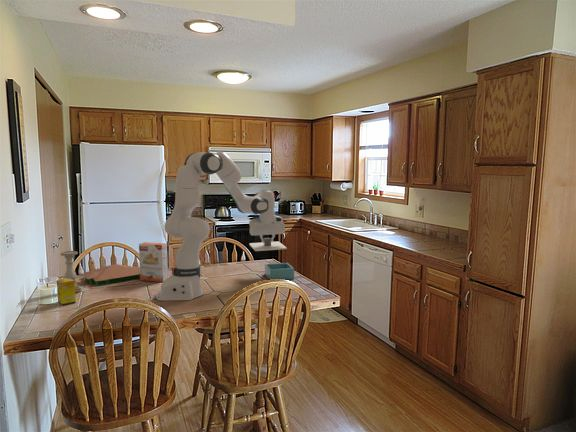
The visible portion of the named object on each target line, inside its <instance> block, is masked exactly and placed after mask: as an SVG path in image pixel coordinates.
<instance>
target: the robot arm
mask: <svg viewBox="0 0 576 432" xmlns="http://www.w3.org/2000/svg"><path fill="white" fill-rule="evenodd" d="M214 174H216V175H217V177H218V178H219V179H220V180H221V182H222V183H223V185H224V188H225V189H226V190H227V192H228V193H229V195H230V196H231V197H232V199H233V201H234V203H235V206H236V210H238V212H239V213H240V214H241V213H242V214H250V215H259V218H252V219H250V220H249V223H248V225H249V234H250V236H259V238H260V240H261V242H262V243H264V242H265V239H264V237H263V236H269V235H271V238H270V239H271V242H274V238H275V237H276V235H283V234H285V232H286V228H285V222H283V221H284V218H283V217H282V216H280V215H276V211H275V207H276V205H275V202H276V201H275V200H276V199H275V194H274V192H273V191H272V190H267V189H261V190H260V192H258V193H256V194H255V195H254V196H249V195H246V194H245V193H244V192H243V191H242V189H241V188H240V186H238V184H239V182H240V181H241V179H242V172H241V170H240V168H239V167H238V165H237V164H236V163H235V162H234V161H233V159H232V158H231V157H230V156H229V155H228V154H227V153H226V152H224V151H217V152H211V151H208V152H206V151H205V152H204V151H200V152H193V153H190V154H188V156H186V157H185V161H184V163H183V165H181V166H179V168H178V169H177V172H176V178H175V200H174V207H173V210H172V212H171V215H170V216H169V217H168V218H167V219H166V220H165V222H164V231H165V232H166V234H167V235H169V236H171V237H173V238H176V239H182V244H181V246H180V247H179V248H178V249H177V250H176V252H175V263H176V264H175V266H174V265H173V266H171V268H170V270H171V273H172V274H171V275H170V276H168V279H166V280H165V281H164V282H161V283H162V284H161V286H160V290H159V291H158V292H156V294H155V298H156V300H158V301H163V302H164V301H167V302H168V301H191V300H193V299H195V298H199V297H201V296H202V295H203V294H204V291H203V289H202V284H201V275H202V274H201V265H200V250H201V246H202V244H203V242H204V240H206V239H207V237H209V235H210V232H211V231H210V230H211V227H210V224H209V222H208V221H207V220H205V219H202V218H200V217H193V216H192V213H193V211H194V210H195V209H196V208H197V207H198V206H199V203H200V202H199V200H200V178H201V176H207V175H214Z"/></svg>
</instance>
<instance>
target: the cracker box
mask: <svg viewBox="0 0 576 432" xmlns="http://www.w3.org/2000/svg"><path fill="white" fill-rule="evenodd" d="M138 255H139V267H140V274H139V276H140V279H139V281H144V282H145V281H146V282H147V281H148V282H157V283H158V282H159V283H163V282H164V281H165V280H166V279H168V278H169V276H168V275H169V274H168V272H169V271H168V246H167V243H165V242H164V243H163V242H147V241H144V242H141V243H138Z"/></svg>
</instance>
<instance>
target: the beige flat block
mask: <svg viewBox="0 0 576 432" xmlns="http://www.w3.org/2000/svg"><path fill="white" fill-rule="evenodd" d="M137 276H138V279H139V280H140V266H135V265H134V266H131V265H127V264H119V263H118V264H117V263H115V264H110V265H106V266H103V267H99V268H95V269H92V270H89V271H88V270H87V271H85V272H84V274H82V277H84V278H85V279H86V280H87V282H88V283H89V284H90V285H92V283H93V284H94V285H96V286H97V287H98V286H99V282H100V283H101V284H102V286H103V285H104V283H106V284H107V285H110V284H111V283H115V282H117V281H118V280H120V281H123V279H126V280H130V281H132V280H135V279H136V277H137Z"/></svg>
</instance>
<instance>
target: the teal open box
mask: <svg viewBox="0 0 576 432" xmlns="http://www.w3.org/2000/svg"><path fill="white" fill-rule="evenodd" d="M264 274H265V276H266V277H267V279H268V280H269V279H283V280H292V279H295V268H294V267H293V266H292V265H291V264H290V263H289V262H278V263H277V262H275V263H266V264H264Z"/></svg>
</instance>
